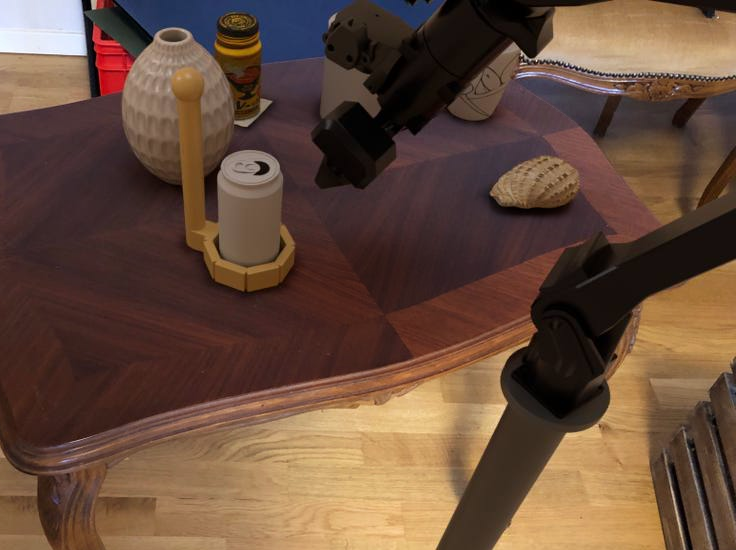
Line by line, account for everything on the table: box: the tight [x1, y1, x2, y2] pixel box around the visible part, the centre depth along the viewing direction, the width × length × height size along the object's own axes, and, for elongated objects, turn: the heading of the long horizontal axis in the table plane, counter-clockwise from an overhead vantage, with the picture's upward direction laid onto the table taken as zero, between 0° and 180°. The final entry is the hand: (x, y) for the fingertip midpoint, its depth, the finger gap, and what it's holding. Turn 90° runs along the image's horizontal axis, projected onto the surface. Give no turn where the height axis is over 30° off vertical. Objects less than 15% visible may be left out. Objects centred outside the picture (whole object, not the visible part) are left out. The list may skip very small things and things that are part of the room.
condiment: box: [213, 11, 273, 128], centre depth 92 cm, size 7×8×12 cm
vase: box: [121, 27, 235, 186], centre depth 81 cm, size 13×13×17 cm
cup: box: [319, 12, 381, 120], centre depth 91 cm, size 9×9×12 cm
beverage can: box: [216, 149, 284, 268], centre depth 72 cm, size 6×6×12 cm
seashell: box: [488, 154, 581, 209], centre depth 83 cm, size 8×6×10 cm
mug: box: [447, 42, 522, 122], centre depth 94 cm, size 11×8×10 cm
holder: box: [171, 67, 296, 293], centre depth 70 cm, size 13×9×20 cm
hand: (344, 161), depth 68 cm, fingers open, 9 cm apart
